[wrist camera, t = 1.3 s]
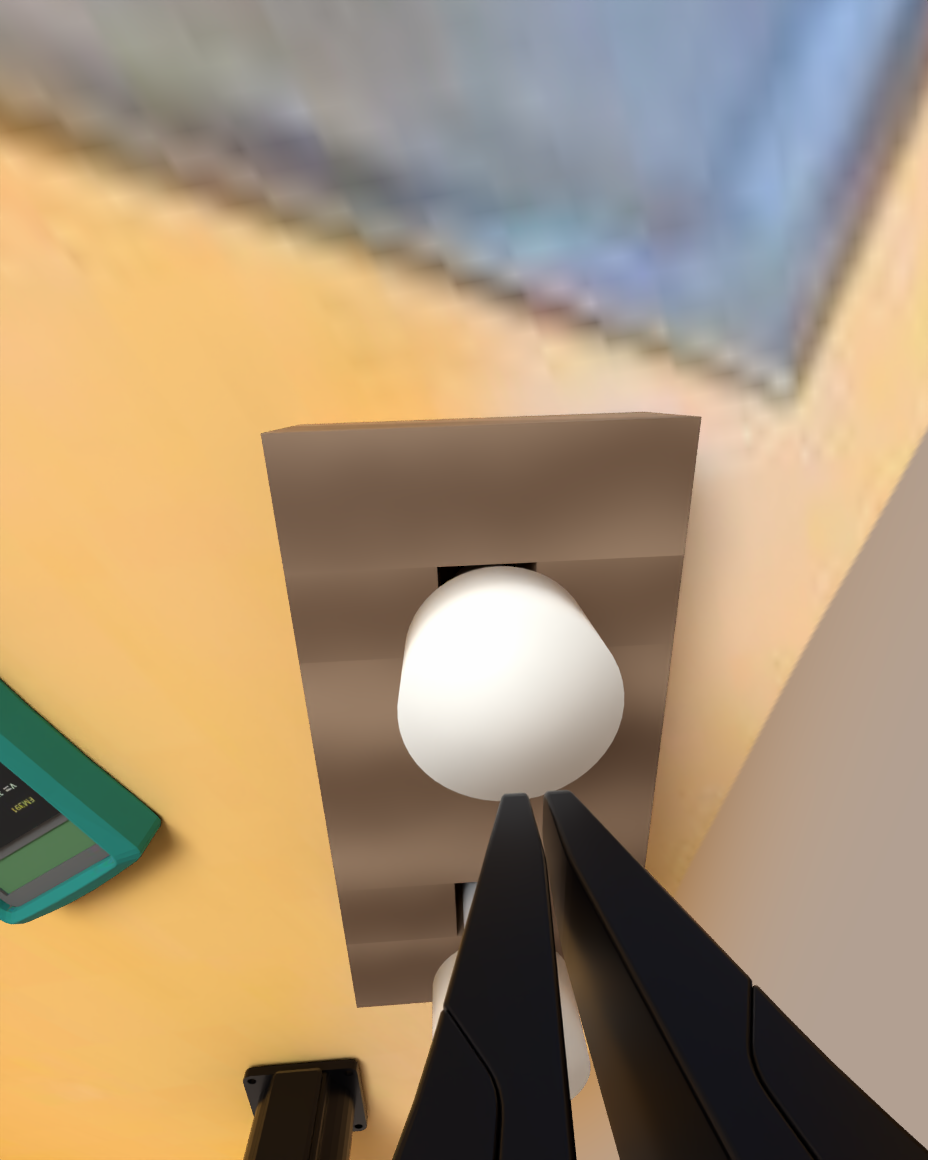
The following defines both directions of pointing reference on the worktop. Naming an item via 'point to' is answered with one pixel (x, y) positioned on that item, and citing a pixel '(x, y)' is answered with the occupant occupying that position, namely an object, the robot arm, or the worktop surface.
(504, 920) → the robot arm
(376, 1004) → the brown wooden board
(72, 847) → the digital multimeter
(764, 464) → the worktop surface
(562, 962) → the far knob
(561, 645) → the near knob
